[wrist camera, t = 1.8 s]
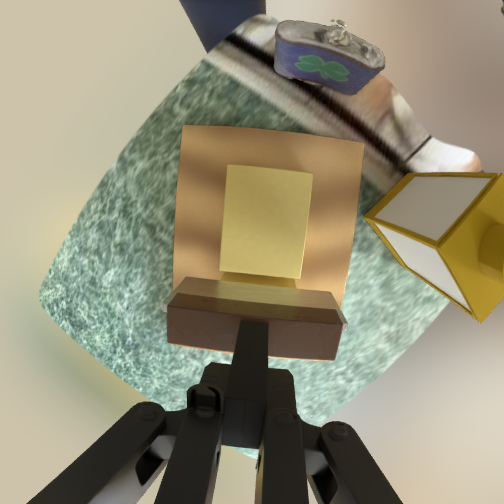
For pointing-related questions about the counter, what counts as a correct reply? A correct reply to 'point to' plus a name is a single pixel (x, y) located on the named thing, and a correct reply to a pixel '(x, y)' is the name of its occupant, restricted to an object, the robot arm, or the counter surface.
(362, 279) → the counter surface
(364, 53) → the flask
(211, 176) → the butter board
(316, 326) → the dough scraper
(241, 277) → the butter pat
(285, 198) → the butter block
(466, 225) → the soap bottle
